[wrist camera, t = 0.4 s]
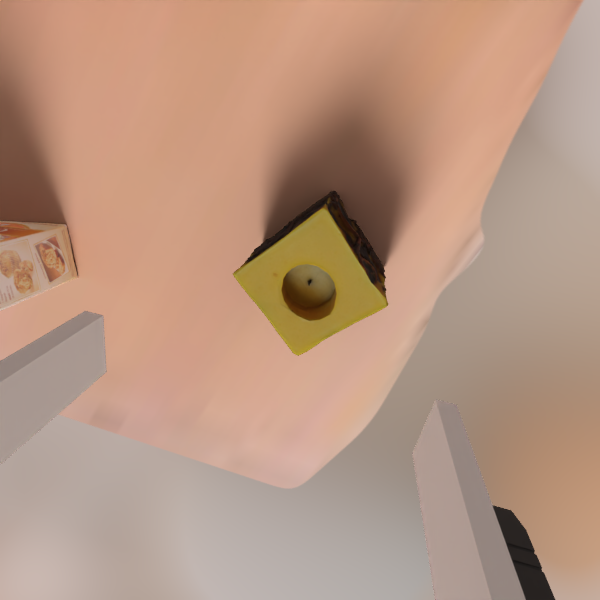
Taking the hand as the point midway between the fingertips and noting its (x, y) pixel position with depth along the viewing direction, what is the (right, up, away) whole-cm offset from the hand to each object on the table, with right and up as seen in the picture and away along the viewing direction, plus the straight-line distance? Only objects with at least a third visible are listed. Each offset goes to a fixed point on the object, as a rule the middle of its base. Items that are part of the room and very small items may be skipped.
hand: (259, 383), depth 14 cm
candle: (+4, +8, +25) cm, 27 cm away
